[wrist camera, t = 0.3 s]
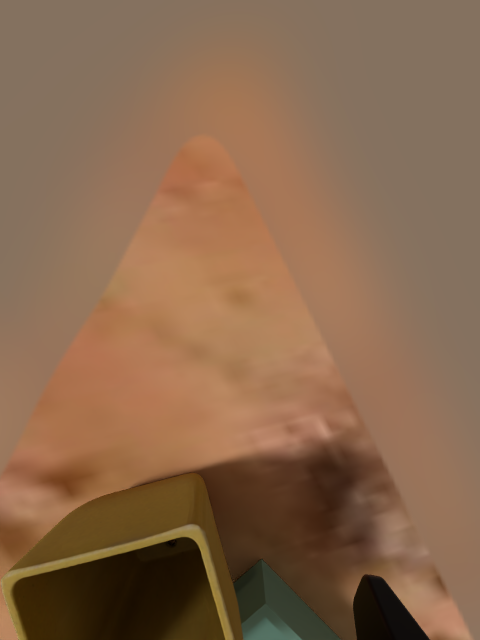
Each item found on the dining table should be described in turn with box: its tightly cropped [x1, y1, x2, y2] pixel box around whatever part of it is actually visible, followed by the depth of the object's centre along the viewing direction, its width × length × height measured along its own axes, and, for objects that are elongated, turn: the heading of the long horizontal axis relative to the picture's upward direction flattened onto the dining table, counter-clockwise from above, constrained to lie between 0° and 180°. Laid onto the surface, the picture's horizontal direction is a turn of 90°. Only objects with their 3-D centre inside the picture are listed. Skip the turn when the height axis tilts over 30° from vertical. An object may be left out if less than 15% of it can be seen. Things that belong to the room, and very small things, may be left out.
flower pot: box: [1, 473, 243, 640], centre depth 20 cm, size 9×9×9 cm
